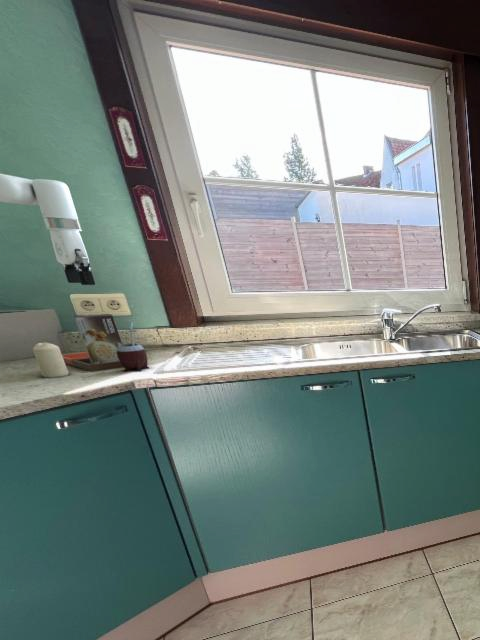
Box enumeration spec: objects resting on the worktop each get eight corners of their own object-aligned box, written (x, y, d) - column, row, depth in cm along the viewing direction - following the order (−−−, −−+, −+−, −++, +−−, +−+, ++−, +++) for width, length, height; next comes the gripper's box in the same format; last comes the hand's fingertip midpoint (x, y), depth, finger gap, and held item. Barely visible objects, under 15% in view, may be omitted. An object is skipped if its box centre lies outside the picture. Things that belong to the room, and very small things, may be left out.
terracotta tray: (72, 365, 164) (70, 359, 163) (59, 361, 169) (56, 355, 168) (126, 358, 176) (124, 353, 175) (112, 355, 181) (110, 349, 180)
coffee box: (127, 360, 171) (111, 313, 165) (129, 363, 167) (114, 315, 161) (90, 363, 165) (73, 314, 159) (92, 367, 161) (74, 316, 155)
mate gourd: (126, 372, 157) (111, 325, 152) (118, 369, 161) (102, 322, 156) (155, 369, 163) (141, 323, 158) (146, 365, 167) (132, 320, 162)
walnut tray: (91, 371, 158) (89, 364, 157) (74, 366, 163) (72, 359, 163) (146, 364, 169) (144, 358, 169) (128, 359, 175) (126, 353, 174)
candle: (71, 375, 152) (59, 342, 149) (46, 378, 148) (33, 345, 144) (65, 372, 155) (53, 340, 151) (40, 375, 151) (27, 343, 147)
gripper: (34, 223, 151) (54, 282, 157) (57, 224, 143) (77, 285, 150) (68, 225, 157) (86, 281, 163) (91, 226, 150) (109, 285, 156)
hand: (81, 283), depth 156 cm, fingers open, 9 cm apart
